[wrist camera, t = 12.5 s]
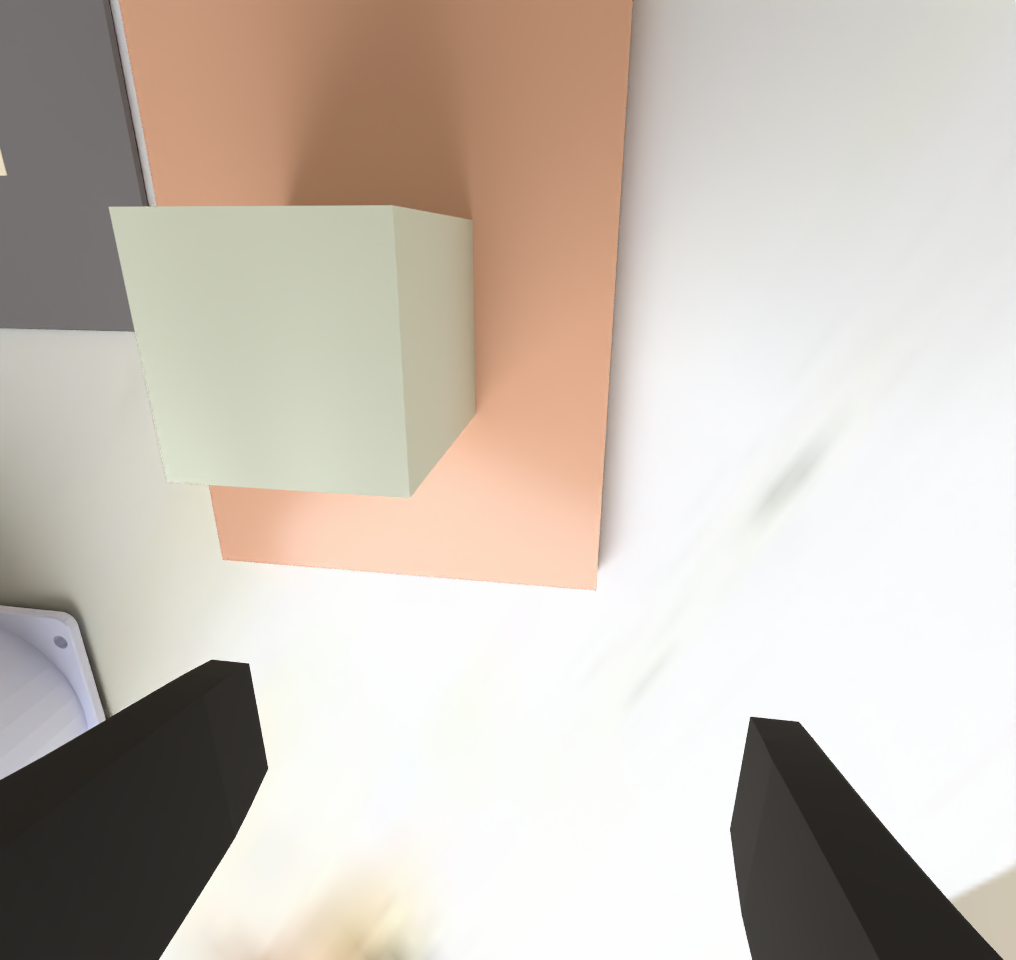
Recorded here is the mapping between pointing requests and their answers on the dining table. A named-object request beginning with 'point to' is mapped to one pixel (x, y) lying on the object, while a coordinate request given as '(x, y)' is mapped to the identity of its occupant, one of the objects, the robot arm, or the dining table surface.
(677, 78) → the dining table surface
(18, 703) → the robot arm
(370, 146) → the plate
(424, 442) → the sage block
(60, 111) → the mat
